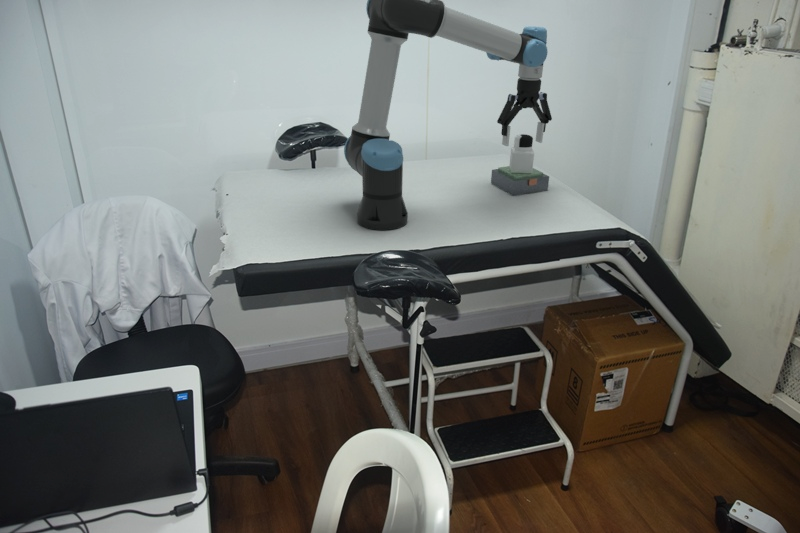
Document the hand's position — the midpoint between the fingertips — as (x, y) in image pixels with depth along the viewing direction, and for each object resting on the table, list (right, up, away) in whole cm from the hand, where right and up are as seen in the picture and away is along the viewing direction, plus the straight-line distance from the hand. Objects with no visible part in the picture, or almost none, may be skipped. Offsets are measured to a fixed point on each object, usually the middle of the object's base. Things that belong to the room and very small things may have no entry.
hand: (522, 143), depth 206 cm
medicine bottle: (0, -9, +4) cm, 10 cm away
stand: (0, -14, +7) cm, 15 cm away
